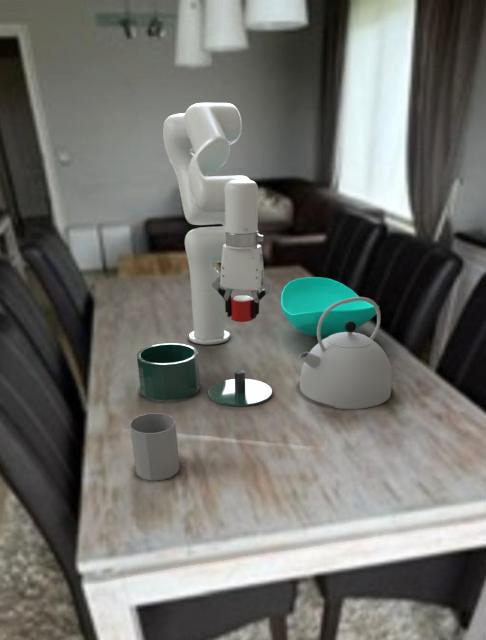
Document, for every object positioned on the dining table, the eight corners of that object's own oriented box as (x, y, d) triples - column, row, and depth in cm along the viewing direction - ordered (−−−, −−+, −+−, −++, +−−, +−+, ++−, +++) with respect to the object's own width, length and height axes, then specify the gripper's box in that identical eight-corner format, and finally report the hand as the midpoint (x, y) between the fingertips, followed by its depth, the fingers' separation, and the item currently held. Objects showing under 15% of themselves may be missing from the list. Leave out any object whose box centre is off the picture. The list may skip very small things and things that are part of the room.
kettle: (324, 418, 128) (331, 319, 116) (275, 383, 145) (276, 293, 133) (410, 396, 138) (425, 303, 125) (354, 366, 154) (362, 281, 142)
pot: (153, 376, 149) (149, 341, 144) (206, 380, 147) (204, 345, 142) (132, 399, 137) (127, 362, 132) (189, 404, 135) (187, 366, 130)
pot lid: (217, 381, 147) (216, 358, 143) (276, 385, 144) (277, 362, 141) (200, 406, 134) (199, 381, 131) (265, 411, 131) (265, 386, 128)
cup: (156, 454, 115) (151, 409, 109) (188, 465, 111) (184, 420, 105) (127, 472, 109) (120, 425, 104) (158, 485, 105) (153, 437, 100)
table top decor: (396, 352, 164) (402, 306, 156) (305, 361, 158) (308, 314, 151) (342, 314, 196) (346, 274, 189) (266, 320, 190) (266, 279, 183)
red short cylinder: (234, 314, 146) (233, 294, 143) (255, 315, 145) (255, 295, 142) (229, 321, 141) (228, 300, 138) (250, 322, 140) (250, 301, 137)
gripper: (280, 238, 134) (278, 313, 144) (210, 235, 137) (213, 309, 147) (275, 244, 128) (273, 323, 138) (202, 241, 131) (205, 318, 141)
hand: (242, 315), depth 143 cm, fingers closed on red short cylinder, 5 cm apart
